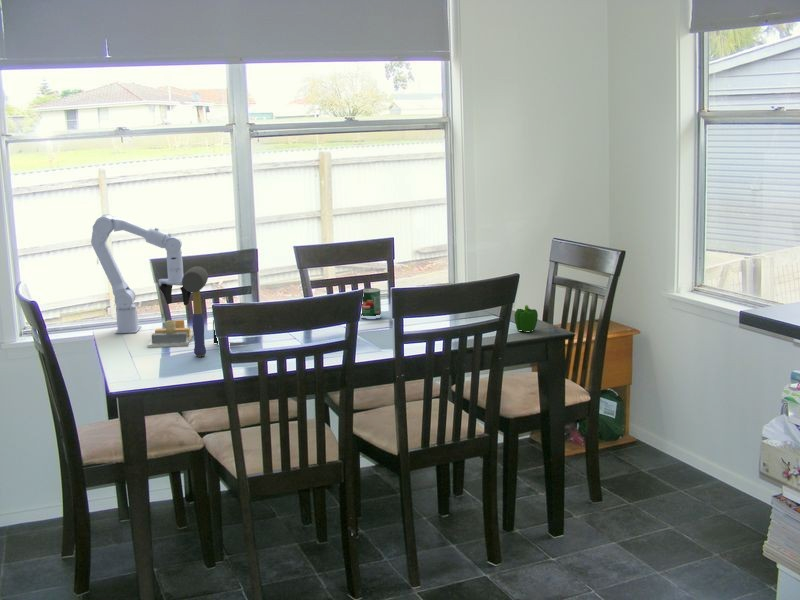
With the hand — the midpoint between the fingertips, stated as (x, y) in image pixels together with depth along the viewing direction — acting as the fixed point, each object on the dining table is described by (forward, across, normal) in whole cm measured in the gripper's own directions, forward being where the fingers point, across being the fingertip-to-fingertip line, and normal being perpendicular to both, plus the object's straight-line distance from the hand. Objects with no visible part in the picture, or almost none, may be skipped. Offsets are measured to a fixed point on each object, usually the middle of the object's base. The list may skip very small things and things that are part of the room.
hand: (177, 304), depth 349 cm
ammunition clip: (+10, +30, -14) cm, 35 cm away
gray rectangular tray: (+9, +7, -14) cm, 19 cm away
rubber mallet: (+10, +31, -32) cm, 46 cm away
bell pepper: (+10, +126, +33) cm, 130 cm away
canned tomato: (+10, +63, +38) cm, 74 cm away
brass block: (+8, +9, -17) cm, 21 cm away
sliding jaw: (+8, +6, -11) cm, 15 cm away
